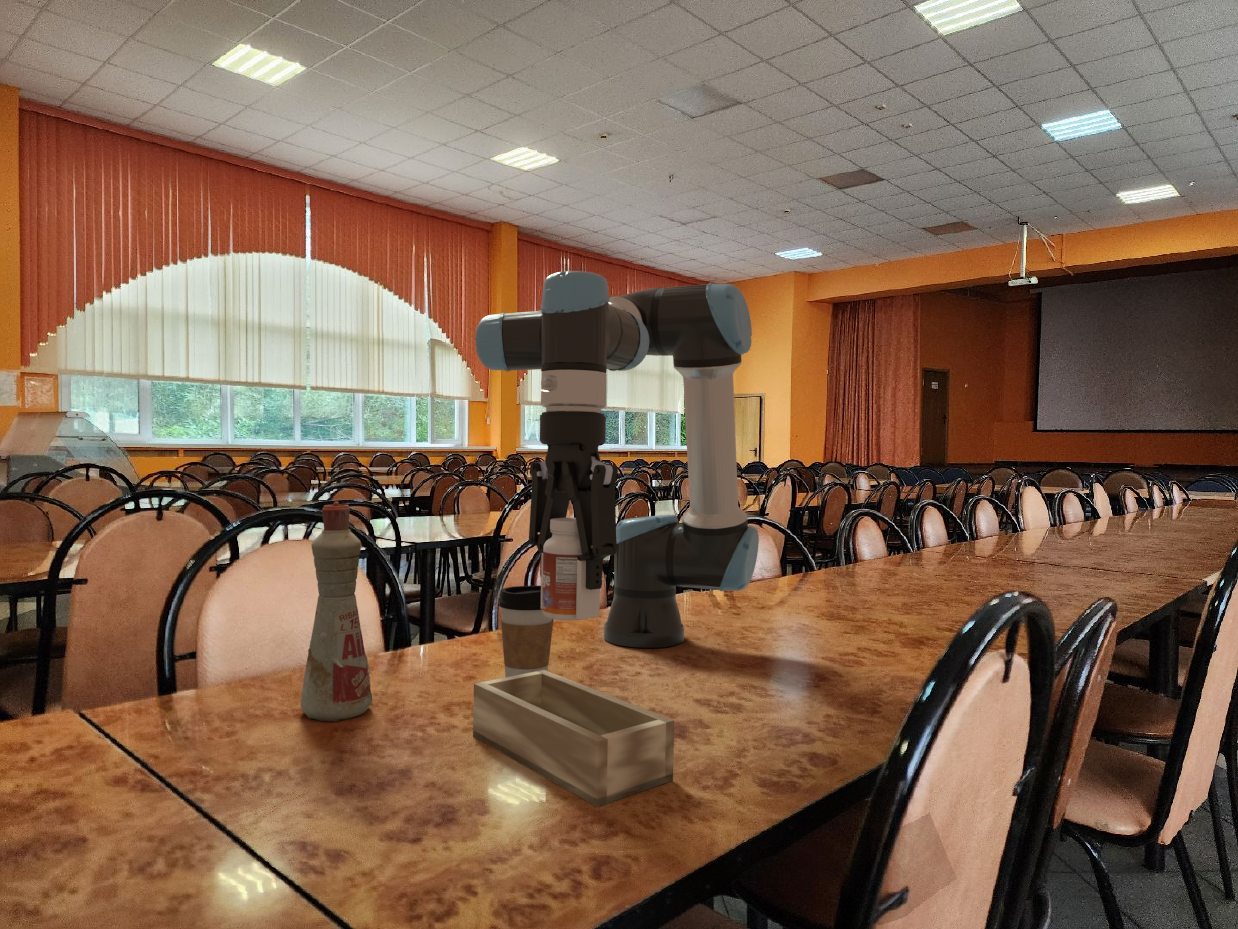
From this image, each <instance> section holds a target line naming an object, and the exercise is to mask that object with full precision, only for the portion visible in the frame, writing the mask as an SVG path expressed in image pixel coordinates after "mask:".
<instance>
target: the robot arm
mask: <svg viewBox="0 0 1238 929" xmlns="http://www.w3.org/2000/svg"><path fill="white" fill-rule="evenodd" d="M541 296H542V297H541V306H540V310H533V311H532V310H531V311H522V312H521V311H519V312H509V313H507V312H501V313H497V314H494V313H493V314H488V315H486V316H484V317H483V318H482V319H481V320H480V321H479V323H478V325H477V326H476V329H475V330H476V331H475V335H474V341H475V351H476V354H477V357H478V359H479V361H480V363H481V364H482V365H483V366H484V367H485V368H486V369H488V370H490V371H505V372H511V371H534V370H540V372H541V374H540V376H541V378H540V406H542V407H543V408H545V411H542V412H541V414H540V415H539V442H540V443H541V444H542V445H547V451H546V452H547V453H546V454H545V459H544V460H543V461H540V462H538V461H537V462H536V461H535V462H531V463H530V466H529V467H530V470H529V471H530V476H531V494H530V496H531V498H530V514H529V528H528V529H529V530H528V542H529V544H530V545H531V546H532V545H535V546H536V548H537V550H538V552H540V556H539V558H540V559H539V561H540V562H539V563H540V566H539V568H540V569H539V570H540V571H539V575H540V585H541V609H542V588H543V547H544V544H545V542H546V541H547V540H548V539H549V538H551V537H552V532H550V531H551V530H550V520H551V519H554V518H567V515H568V510H569V505H570V502H572V503H573V511H574V516H575V518H576V522H577V528H578V534H579V539H580V545H581V551H582V555H580V556H577V558H578V560H577V596H576V619H579V620H580V621H582V619H583V620H588V619H595V618H599V617H600V612H601V611H600V609H601V608H600V607H601V606H600V604H601V603H600V599H601V598H600V596H601V589H602V586H603V562H604V559H605V558H606V557H610V556H614V559H613V560H614V563H613V564H614V567H613V570H614V574H613V576H614V578H613V581H614V583H613V588H614V589H613V599H612V602H611V606H610V608H609V612H608V615H607V619H606V622H605V623H604V626H603V639H604V640H605V641H606V642H608V643H611V644H613V645H617V646H621V647H622V646H623V647H630V648H642V649H643V648H644V649H645V648H646V649H648V648H649V649H651V648H653V649H654V648H656V649H657V648H667V647H673V646H676V645H679V644H682V643H683V642H684V641H685V626H684V624H683V622H682V619H681V613H680V610H679V607H678V603H677V598H676V597H677V593H676V592H677V591H676V590H677V589H676V588H677V587H683V588H695V589H705V590H714V591H720V592H724V591H730V592H731V591H735V592H737V591H739V592H740V591H743V590H745V589H746V588H747V587H748V585H750V582H751V580H752V578H753V575H754V572H755V568H756V563H757V559H758V554H759V553H758V552H759V542H760V539H759V538H760V537H759V531H758V528H756V527H754V526H753V525H749V524H748V515H747V513H746V512H745V511H744V510H743V509H742V508H740V506H739V497H738V496H739V494H738V468H737V443H736V417H735V416H736V413H735V392H734V388H735V387H734V374H735V372H736V370H737V369H738V368H739V367H740V366H741V365H742V355H745V354H747V353H748V352H749V351H750V350H751V346H752V335H753V331H752V330H753V329H752V320H751V315H750V310H749V307H748V306H749V305H748V303H747V301H746V299H745V296H744V293H743V292H742V291H741V289H740V288H739V287H738V286H736V285H734V284H730V283H712V282H709V283H705V284H695V285H681V286H680V285H679V286H667V287H652V288H645V289H642V290H641V289H640V290H639V291H638V290H637V291H634V292H630V293H627V294H622V295H617V296H611V297H610V295H609V284H608V280H607V279H606V278H605V277H604V276H602V275H601V274H598V273H595V272H592V271H582V270H581V271H580V270H568V271H559V272H555V273H552V274H550V275H548V276H546V278H545V279H544V281H543V286H542V295H541ZM646 356H653V357H654V356H655V357H659V356H661V357H662V356H663V357H665V356H666V357H667V356H672V360H673V361H672V363H673V369H675V370H676V371H677V372H678V373H679V374H680V375H681V377H682V382H683V384H682V385H683V398H684V400H683V401H684V402H683V403H684V416H685V417H684V418H685V422H684V423H685V434H686V436H685V438H686V439H685V440H686V453H687V454H686V456H687V472H688V473H687V474H688V490H689V491H688V492H689V493H688V494H689V509H688V510H687V511H686V513H685V514H683V516H682V519H681V521H682V522H681V523H680V522H679V519H678V517H677V516H678V515H677V514H661V515H651V516H642V517H641V516H640V517H633V518H624V519H622V520H620V521H619V522H618V523H617V515H616V512H617V511H616V510H617V509H616V482H617V478H618V474H619V470H618V469H619V468H618V466H617V465H616V464H606V463H604V462H602V460H601V457H600V454H599V453H600V452H599V447H600V446H603V445H604V444H605V442H606V432H607V431H606V430H607V428H606V426H607V425H606V424H607V418H606V417H607V416H605V414H604V413H601V411H602V409H606V408H607V398H608V397H607V396H608V395H607V394H608V392H607V391H608V388H607V387H608V386H607V385H608V384H607V383H608V382H607V381H608V380H607V377H608V374H607V373H608V372H607V370H608V371H611V372H617V371H619V372H623V371H625V372H626V371H630V370H632V369H635V368H636V367H638V366H639V365H640V364H641V363H642V362H643V361H644V359H645V358H646ZM591 546H592V547H593V548H591ZM579 620H578V621H579Z"/></svg>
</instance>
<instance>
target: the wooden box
mask: <svg viewBox="0 0 1238 929" xmlns="http://www.w3.org/2000/svg"><path fill="white" fill-rule="evenodd" d="M472 715H473V716H472V718H473V720H472V721H473V722H472V723H473V724H472V737H474V738H475V739H476V740H479V741H480V742H482V743H484V744H486V745H487V746H489V747H491V748H493V749H494V750H496V751H498V752H500V753H501V754H503V755H505V756H507V757H508V758H510V759H512V760H513V761H516V762H518V763H519V764H521V765H523V766H524V767H526V768H528V769H530V770H532V771H533V772H535V773H537V774H538V775H540V776H541V777H544V778H546V779H547V780H548V781H550V782H553V783H554V784H556V785H557V786H560V787H561V788H562V789H565V790H567V791H569V792H570V793H572V794H573V795H575V796H577V797H579V798H580V799H583V800H585V801H586V802H587V803H590V804H591V805H593V806H595V807H596V808H599V807H601V806H603V805H607V804H609V803H613V802H615V801H618V800H621V799H624V798H627V797H629V796H633V795H635V794H638V793H641V792H644V791H647V790H650V789H652V788H655V787H659V786H661V785H664V784H667V783H671V782H673V781H674V754H675V753H674V750H675V749H674V748H675V745H674V744H675V742H674V741H675V720H674V719H671V718H668V717H666V716H664V715H661V714H659V713H657V712H655V711H651V710H648V709H645V707H644V708H643V707H641V706H638V705H636V704H633V703H630V702H629V701H625V700H623V699H620V698H618V697H615V696H612V695H609V694H607V693H604V692H602V691H599V690H598V689H594V688H592V687H589V686H587V685H583V684H581V683H579V682H577V681H574V680H571V679H569V678H566V677H564V676H562V675H558V674H555V673H554V672H550V671H549V670H548V671H546V670H541V671H536V672H531V673H526V674H521V675H515V676H510V677H505V676H504V677H502V678H500V677H499V678H497V679H491V680H486V681H485V680H484V681H480V682H476V683H473V714H472Z"/></svg>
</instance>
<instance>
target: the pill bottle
mask: <svg viewBox="0 0 1238 929" xmlns="http://www.w3.org/2000/svg"><path fill="white" fill-rule="evenodd" d="M550 530H551V531H550V532H552V537H551V538H549V539H548V540H547V541H546V542H545V544H544V547H543V588H542V612H543V614H544V615H545V616H546V617H548V618H551V619H553V620H556V621H579V619H576V596H577V560H578V558H577V556H580V555H582V551H581V545H580V539H579V534H578V528H577V522H576V517H566V518H554V519H551V520H550ZM591 548H593V547H592V546H591ZM582 620H584V619H582ZM582 620H581V621H582Z"/></svg>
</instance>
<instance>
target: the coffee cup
mask: <svg viewBox="0 0 1238 929" xmlns="http://www.w3.org/2000/svg"><path fill="white" fill-rule="evenodd" d="M498 602H499V603H498V606H499V607H500V608H501V619H500V626H501V628H500V629H501V638H502V639H501V640H502V652H503V664H504V675H505V676H504V678H505V677H510V676H515V675H521V674H526V673H531V672H536V671H541V670H546V671H548V672H549V664H550V663H549V662H550V654H551V647H552V646H551V645H552V636H553V626H554V619H551V618H548V617H546V616H545V615H544V614H543V612H542V609H541V584H540V585H515V586H508V587H505V588H502V589H501V590H500V597H499V599H498Z"/></svg>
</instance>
